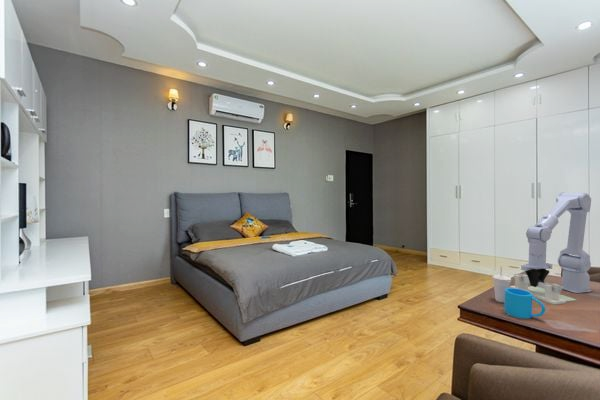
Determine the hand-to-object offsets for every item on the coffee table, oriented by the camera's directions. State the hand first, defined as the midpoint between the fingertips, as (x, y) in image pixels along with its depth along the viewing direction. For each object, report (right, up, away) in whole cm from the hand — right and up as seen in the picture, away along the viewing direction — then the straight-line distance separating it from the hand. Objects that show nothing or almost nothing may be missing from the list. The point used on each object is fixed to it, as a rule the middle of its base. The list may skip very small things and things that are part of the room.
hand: (536, 286), depth 126 cm
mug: (-20, -5, -19) cm, 28 cm away
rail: (0, 0, 0) cm, 0 cm away
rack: (0, -4, 0) cm, 4 cm away
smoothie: (-19, -5, -6) cm, 21 cm away
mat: (+7, -4, +2) cm, 8 cm away
